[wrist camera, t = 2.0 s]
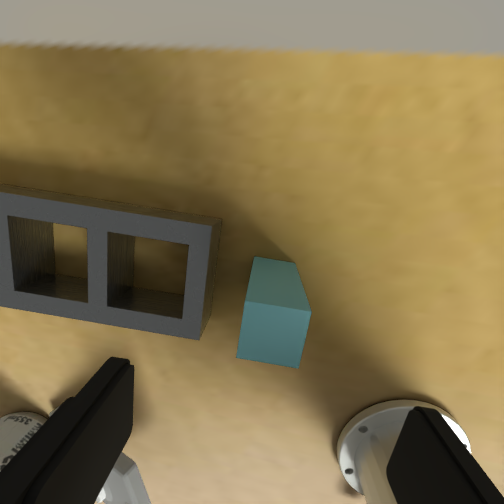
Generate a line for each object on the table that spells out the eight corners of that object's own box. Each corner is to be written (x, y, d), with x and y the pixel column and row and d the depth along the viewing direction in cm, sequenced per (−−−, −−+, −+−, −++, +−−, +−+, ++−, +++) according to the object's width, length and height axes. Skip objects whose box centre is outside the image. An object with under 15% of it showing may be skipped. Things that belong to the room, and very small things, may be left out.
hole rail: (210, 315, 24) (199, 340, 20) (-35, 274, 25) (-92, 290, 21) (222, 219, 22) (211, 226, 18) (-49, 175, 22) (-116, 173, 18)
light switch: (37, 419, 27) (111, 488, 18) (95, 380, 31) (174, 420, 23) (66, 480, 29) (144, 567, 20) (116, 435, 33) (196, 490, 25)
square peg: (287, 300, 23) (298, 368, 15) (248, 293, 23) (236, 357, 15) (294, 262, 22) (311, 311, 14) (254, 256, 22) (245, 300, 14)
